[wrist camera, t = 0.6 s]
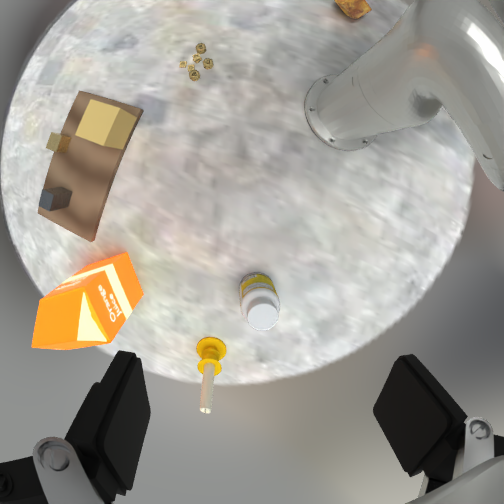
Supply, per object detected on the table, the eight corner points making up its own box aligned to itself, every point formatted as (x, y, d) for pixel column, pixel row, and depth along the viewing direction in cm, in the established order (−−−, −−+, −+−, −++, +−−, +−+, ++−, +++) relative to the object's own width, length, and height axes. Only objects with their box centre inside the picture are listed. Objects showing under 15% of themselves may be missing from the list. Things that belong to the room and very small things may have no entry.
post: (61, 186, 35) (42, 189, 30) (72, 191, 36) (53, 195, 30) (57, 201, 36) (38, 205, 30) (68, 206, 36) (49, 211, 31)
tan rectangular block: (110, 108, 33) (90, 99, 26) (137, 117, 34) (120, 108, 27) (96, 139, 34) (74, 135, 27) (122, 149, 35) (103, 145, 28)
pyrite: (326, -3, 30) (339, 12, 32) (342, 3, 27) (356, 20, 29) (345, -15, 27) (358, 1, 30) (363, -10, 24) (376, 8, 26)
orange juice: (86, 264, 40) (15, 318, 21) (127, 251, 40) (59, 306, 21) (103, 305, 42) (46, 374, 23) (144, 295, 42) (95, 371, 23)
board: (82, 92, 32) (79, 90, 31) (143, 110, 34) (140, 109, 33) (41, 212, 37) (37, 213, 36) (94, 240, 39) (91, 242, 38)
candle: (215, 364, 47) (211, 429, 32) (191, 350, 46) (178, 414, 31) (232, 346, 46) (232, 411, 31) (207, 331, 45) (198, 396, 30)
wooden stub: (61, 133, 33) (51, 132, 30) (71, 137, 33) (61, 136, 30) (56, 148, 33) (45, 147, 30) (66, 152, 34) (56, 152, 31)
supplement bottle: (266, 306, 44) (275, 339, 35) (235, 297, 43) (235, 330, 34) (278, 276, 43) (290, 304, 33) (245, 267, 42) (248, 293, 33)
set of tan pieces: (203, 46, 33) (202, 41, 31) (221, 67, 34) (220, 62, 32) (176, 63, 33) (173, 59, 31) (193, 84, 34) (191, 80, 33)
